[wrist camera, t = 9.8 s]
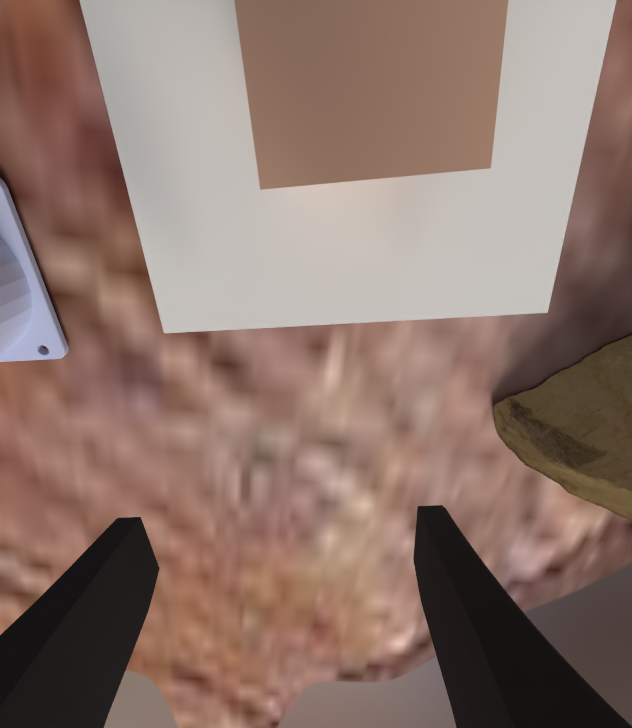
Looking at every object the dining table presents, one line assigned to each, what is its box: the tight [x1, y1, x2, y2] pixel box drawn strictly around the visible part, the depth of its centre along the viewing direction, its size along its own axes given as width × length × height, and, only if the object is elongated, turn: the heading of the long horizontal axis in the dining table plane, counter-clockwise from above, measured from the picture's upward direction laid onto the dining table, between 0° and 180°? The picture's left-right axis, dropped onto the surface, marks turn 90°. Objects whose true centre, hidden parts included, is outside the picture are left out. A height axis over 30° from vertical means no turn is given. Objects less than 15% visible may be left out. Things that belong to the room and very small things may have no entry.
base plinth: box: [80, 0, 616, 333], centre depth 13 cm, size 15×15×3 cm
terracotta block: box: [234, 0, 508, 190], centre depth 9 cm, size 4×4×6 cm
